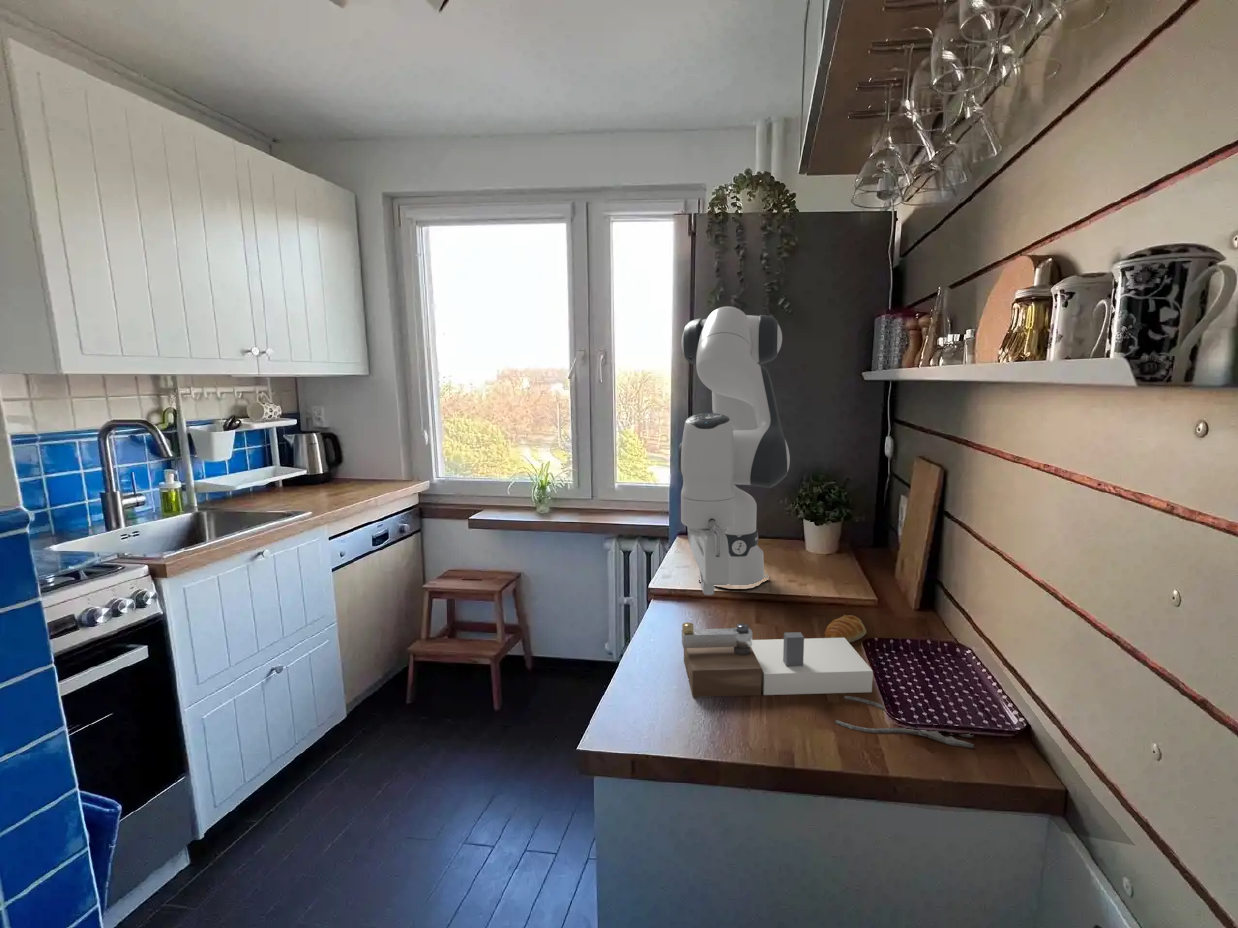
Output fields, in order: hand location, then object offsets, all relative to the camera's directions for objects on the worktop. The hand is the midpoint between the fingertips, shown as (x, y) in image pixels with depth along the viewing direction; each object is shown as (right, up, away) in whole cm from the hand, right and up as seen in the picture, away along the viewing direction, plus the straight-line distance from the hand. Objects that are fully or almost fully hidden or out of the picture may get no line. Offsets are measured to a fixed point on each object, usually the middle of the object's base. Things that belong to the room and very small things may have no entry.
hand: (707, 591), depth 103 cm
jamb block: (+4, -18, +10) cm, 21 cm away
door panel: (+20, -18, +10) cm, 28 cm away
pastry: (+33, -15, +25) cm, 44 cm away
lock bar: (+3, -12, +9) cm, 15 cm away
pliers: (+31, -20, -5) cm, 37 cm away
